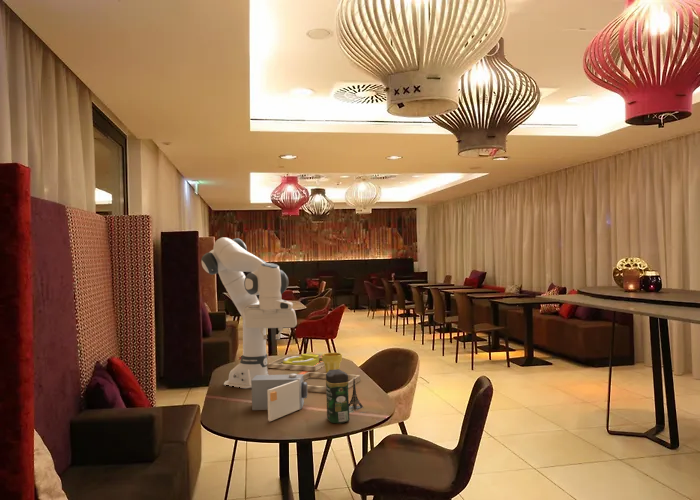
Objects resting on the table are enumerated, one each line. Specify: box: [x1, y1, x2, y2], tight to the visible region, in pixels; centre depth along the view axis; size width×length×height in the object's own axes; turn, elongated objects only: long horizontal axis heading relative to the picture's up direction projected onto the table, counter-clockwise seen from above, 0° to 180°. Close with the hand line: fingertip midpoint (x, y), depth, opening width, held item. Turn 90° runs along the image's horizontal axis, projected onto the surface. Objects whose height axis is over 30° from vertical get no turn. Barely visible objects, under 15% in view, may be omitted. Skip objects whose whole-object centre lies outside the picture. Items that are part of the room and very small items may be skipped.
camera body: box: [251, 373, 308, 411], centre depth 220 cm, size 22×9×13 cm, turn 89°
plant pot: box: [321, 352, 343, 373], centre depth 279 cm, size 10×10×10 cm
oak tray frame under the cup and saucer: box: [303, 371, 361, 394], centre depth 254 cm, size 28×26×2 cm
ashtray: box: [282, 353, 320, 366], centre depth 300 cm, size 16×21×5 cm
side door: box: [267, 378, 302, 422], centre depth 207 cm, size 19×2×12 cm, turn 147°
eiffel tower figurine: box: [349, 379, 365, 414], centre depth 215 cm, size 15×10×13 cm
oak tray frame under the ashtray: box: [267, 355, 325, 372], centre depth 301 cm, size 29×24×2 cm
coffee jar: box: [325, 369, 350, 424], centre depth 200 cm, size 10×8×19 cm
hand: (271, 339), depth 211 cm, fingers open, 4 cm apart
